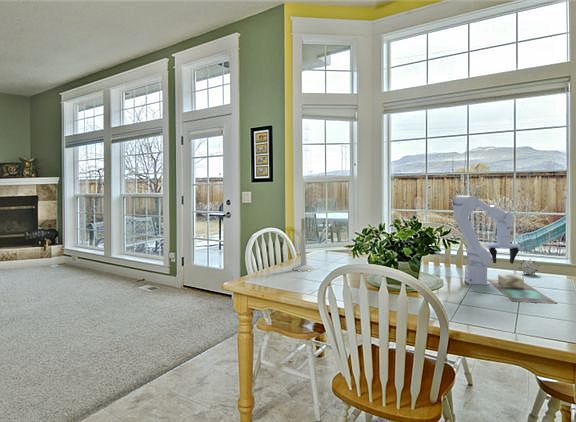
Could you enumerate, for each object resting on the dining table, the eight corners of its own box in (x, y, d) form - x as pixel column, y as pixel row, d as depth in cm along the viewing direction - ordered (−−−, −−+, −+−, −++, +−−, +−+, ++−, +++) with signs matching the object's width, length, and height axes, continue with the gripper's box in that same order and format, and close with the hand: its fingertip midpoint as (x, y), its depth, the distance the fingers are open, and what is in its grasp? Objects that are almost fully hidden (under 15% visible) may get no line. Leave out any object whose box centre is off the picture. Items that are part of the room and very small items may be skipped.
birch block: (504, 287, 167) (504, 278, 167) (498, 282, 175) (498, 274, 175) (523, 287, 165) (523, 279, 165) (516, 283, 173) (516, 274, 173)
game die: (533, 282, 188) (545, 269, 182) (516, 275, 189) (527, 263, 183) (530, 270, 195) (541, 258, 188) (514, 264, 196) (525, 252, 190)
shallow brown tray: (513, 301, 147) (513, 301, 147) (485, 279, 181) (485, 279, 181) (557, 303, 144) (557, 303, 144) (521, 280, 177) (521, 280, 177)
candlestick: (291, 267, 216) (290, 217, 214) (312, 266, 218) (312, 216, 215) (294, 272, 204) (293, 219, 201) (316, 271, 205) (316, 218, 203)
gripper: (490, 236, 176) (489, 264, 177) (523, 237, 173) (522, 265, 174) (485, 234, 183) (485, 261, 184) (517, 235, 180) (516, 262, 181)
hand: (503, 263), depth 179 cm, fingers open, 7 cm apart
